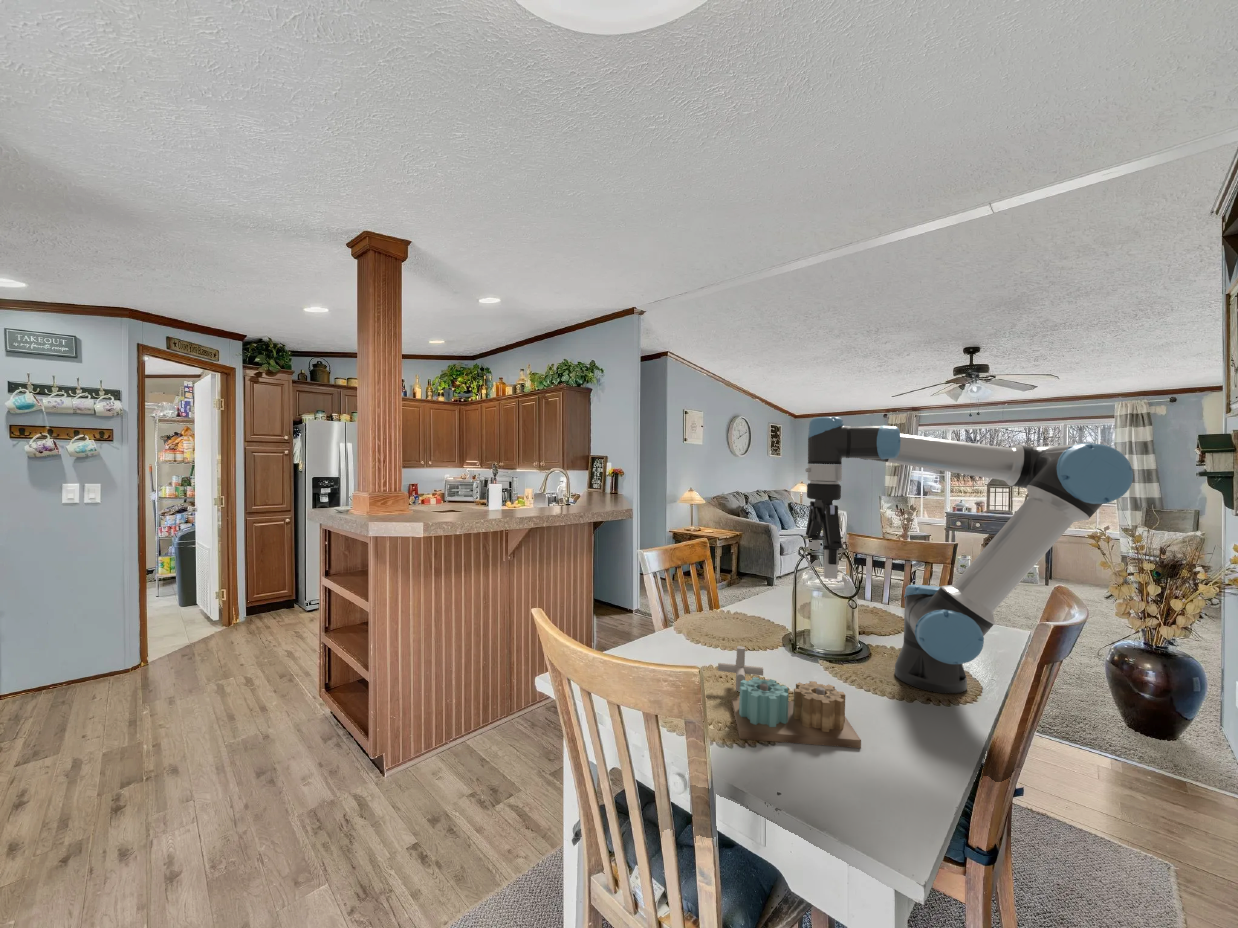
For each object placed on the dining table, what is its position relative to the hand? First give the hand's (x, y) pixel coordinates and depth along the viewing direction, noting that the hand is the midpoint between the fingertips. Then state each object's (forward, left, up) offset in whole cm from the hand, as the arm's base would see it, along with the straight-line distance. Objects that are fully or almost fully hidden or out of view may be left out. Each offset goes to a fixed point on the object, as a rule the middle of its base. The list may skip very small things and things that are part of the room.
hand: (821, 571), depth 123 cm
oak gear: (+6, +21, -25) cm, 33 cm away
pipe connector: (+19, +7, -27) cm, 34 cm away
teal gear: (+17, +21, -25) cm, 37 cm away
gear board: (+11, +21, -27) cm, 36 cm away
